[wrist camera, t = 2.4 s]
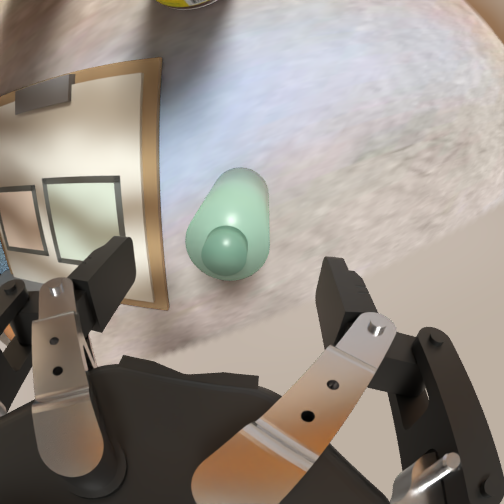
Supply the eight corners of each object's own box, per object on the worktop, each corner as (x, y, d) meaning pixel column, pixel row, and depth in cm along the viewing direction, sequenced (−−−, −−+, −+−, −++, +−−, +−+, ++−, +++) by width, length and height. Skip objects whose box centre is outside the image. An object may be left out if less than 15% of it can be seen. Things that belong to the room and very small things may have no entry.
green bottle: (214, 165, 18) (177, 210, 11) (270, 170, 18) (274, 218, 11) (212, 218, 19) (181, 289, 12) (265, 222, 19) (265, 297, 12)
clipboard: (-14, 103, 14) (-24, 105, 13) (162, 58, 14) (155, 55, 13) (16, 279, 23) (9, 285, 22) (169, 306, 23) (165, 316, 22)
